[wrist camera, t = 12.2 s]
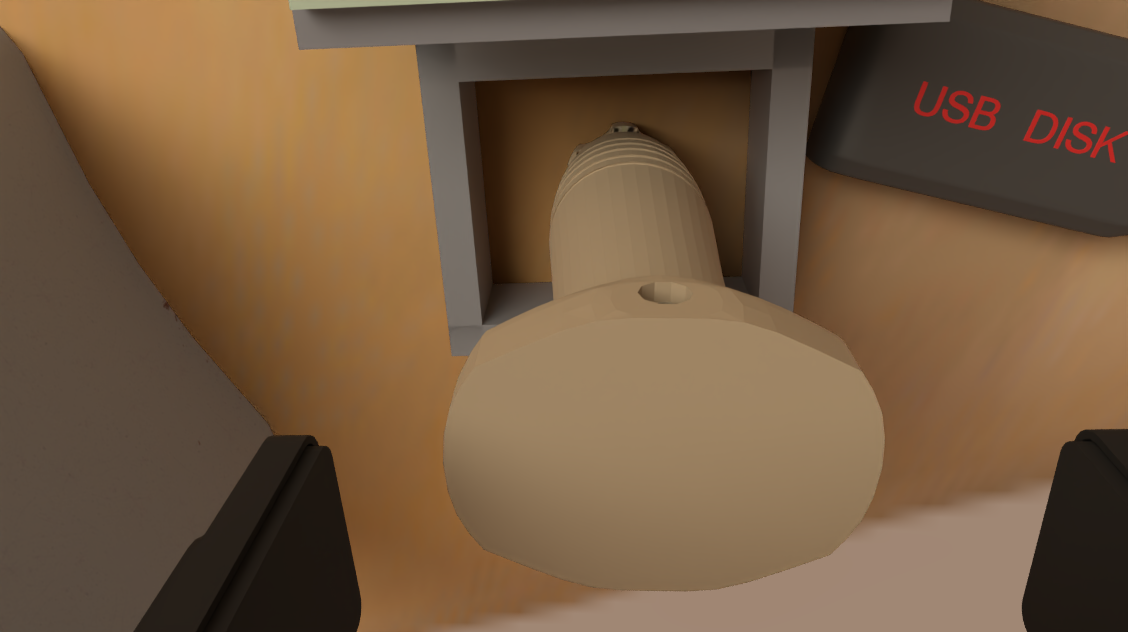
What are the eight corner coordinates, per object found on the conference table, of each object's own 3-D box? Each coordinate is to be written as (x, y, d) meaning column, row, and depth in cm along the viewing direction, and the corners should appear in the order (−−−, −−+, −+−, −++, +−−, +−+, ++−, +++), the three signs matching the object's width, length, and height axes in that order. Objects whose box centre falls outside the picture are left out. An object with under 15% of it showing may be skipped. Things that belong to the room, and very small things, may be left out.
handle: (514, 90, 25) (432, 316, 12) (734, 91, 25) (911, 320, 11) (517, 245, 27) (452, 587, 14) (721, 246, 27) (857, 594, 14)
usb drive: (864, -30, 24) (896, -22, 21) (1260, 72, 25) (1335, 91, 22) (799, 150, 26) (821, 177, 24) (1165, 238, 27) (1223, 272, 24)
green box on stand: (862, -320, 21) (1037, -462, 12) (808, 302, 28) (897, 468, 20) (352, -289, 21) (204, -405, 13) (429, 313, 28) (363, 478, 20)
